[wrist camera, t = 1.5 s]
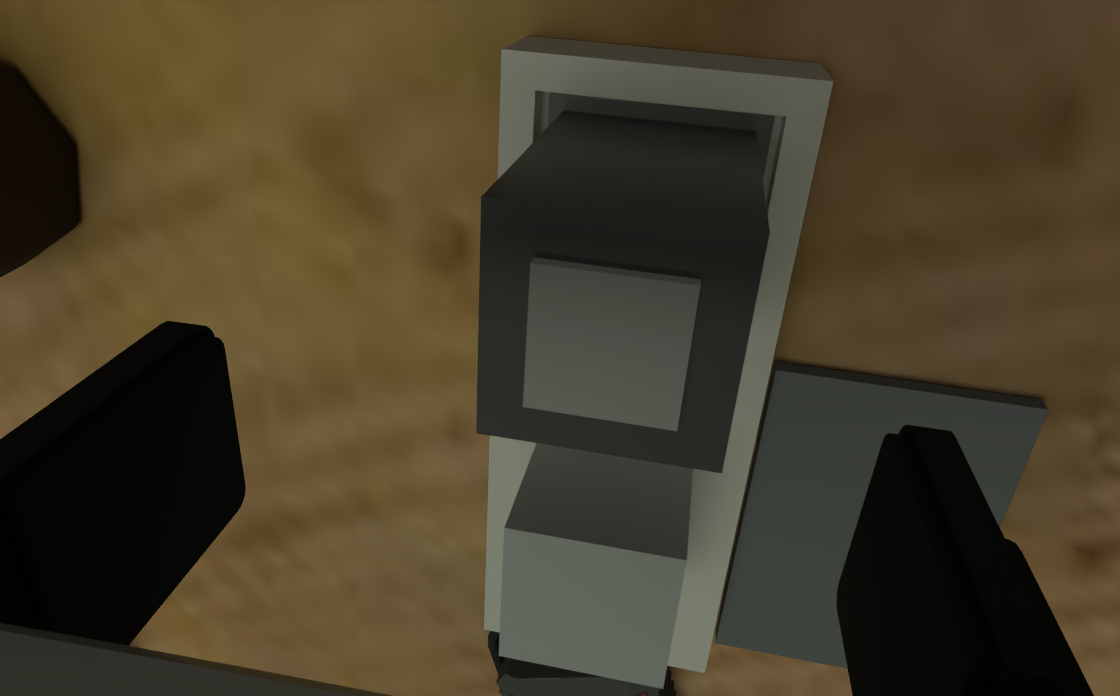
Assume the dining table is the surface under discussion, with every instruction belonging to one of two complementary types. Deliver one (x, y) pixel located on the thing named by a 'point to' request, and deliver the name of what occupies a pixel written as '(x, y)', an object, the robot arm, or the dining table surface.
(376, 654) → the dining table surface
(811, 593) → the mat
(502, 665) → the walkie-talkie
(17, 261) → the beer bottle
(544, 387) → the block
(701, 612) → the power strip
